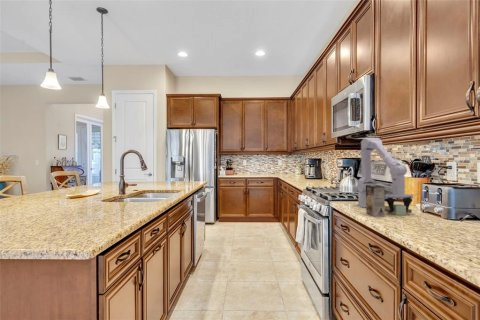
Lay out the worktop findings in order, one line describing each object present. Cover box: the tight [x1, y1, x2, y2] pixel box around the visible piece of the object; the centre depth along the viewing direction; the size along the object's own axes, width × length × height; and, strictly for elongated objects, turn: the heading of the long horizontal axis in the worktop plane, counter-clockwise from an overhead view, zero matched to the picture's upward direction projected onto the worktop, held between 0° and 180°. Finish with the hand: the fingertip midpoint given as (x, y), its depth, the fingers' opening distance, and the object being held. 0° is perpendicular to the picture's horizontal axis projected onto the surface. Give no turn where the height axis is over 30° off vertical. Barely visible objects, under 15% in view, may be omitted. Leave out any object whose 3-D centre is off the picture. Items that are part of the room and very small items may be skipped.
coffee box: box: [365, 184, 386, 217], centre depth 143 cm, size 9×6×16 cm
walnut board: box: [385, 205, 413, 214], centre depth 153 cm, size 12×12×2 cm
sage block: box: [391, 203, 407, 216], centre depth 143 cm, size 5×5×5 cm
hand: (398, 211), depth 143 cm, fingers open, 7 cm apart
